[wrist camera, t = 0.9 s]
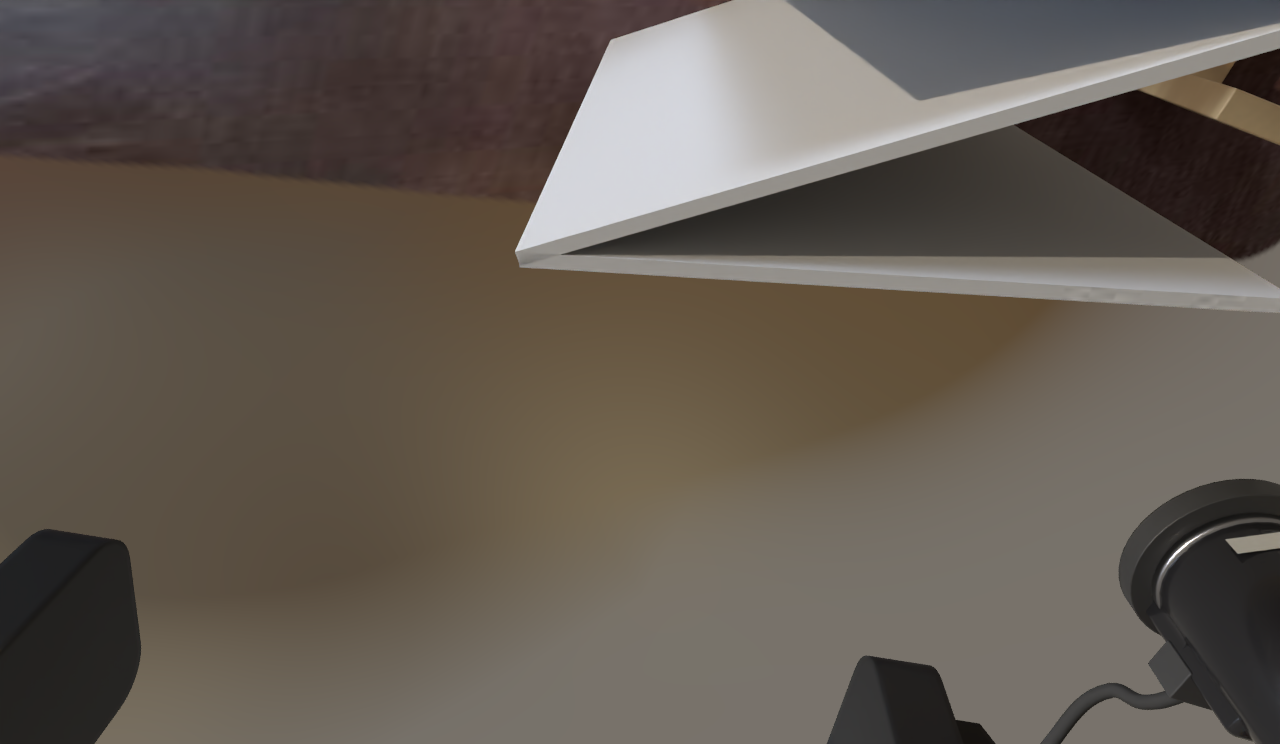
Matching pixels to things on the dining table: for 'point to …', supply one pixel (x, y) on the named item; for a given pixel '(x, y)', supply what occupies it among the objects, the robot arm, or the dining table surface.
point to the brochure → (887, 150)
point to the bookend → (1221, 102)
